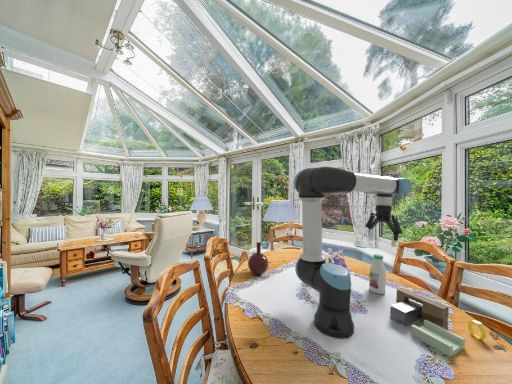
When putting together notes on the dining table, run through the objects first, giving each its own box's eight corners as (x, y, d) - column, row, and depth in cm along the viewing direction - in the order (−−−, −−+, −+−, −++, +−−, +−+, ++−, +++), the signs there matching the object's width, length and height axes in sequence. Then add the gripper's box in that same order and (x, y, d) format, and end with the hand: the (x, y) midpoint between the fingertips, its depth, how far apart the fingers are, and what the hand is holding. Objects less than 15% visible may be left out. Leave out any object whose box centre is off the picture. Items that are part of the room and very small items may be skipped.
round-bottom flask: (245, 270, 141) (246, 240, 141) (264, 269, 145) (264, 240, 145) (250, 279, 129) (251, 246, 128) (271, 276, 132) (272, 245, 132)
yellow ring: (465, 332, 85) (465, 317, 85) (473, 333, 84) (473, 317, 85) (480, 342, 79) (480, 325, 79) (488, 343, 78) (488, 326, 79)
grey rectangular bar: (404, 327, 87) (405, 312, 87) (390, 319, 92) (390, 305, 92) (428, 316, 95) (429, 303, 95) (413, 309, 100) (414, 297, 100)
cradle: (464, 348, 75) (464, 338, 75) (450, 357, 71) (450, 346, 71) (425, 328, 86) (425, 319, 86) (411, 334, 82) (411, 325, 82)
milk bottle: (381, 288, 121) (382, 253, 121) (388, 295, 113) (389, 257, 113) (366, 287, 122) (368, 252, 122) (372, 293, 114) (374, 256, 114)
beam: (442, 331, 84) (443, 309, 84) (396, 308, 101) (396, 289, 100) (447, 328, 86) (448, 306, 86) (401, 306, 102) (401, 287, 102)
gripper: (411, 206, 106) (410, 249, 106) (369, 203, 129) (368, 237, 130) (401, 206, 103) (399, 250, 104) (360, 203, 127) (358, 238, 127)
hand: (382, 243), depth 117 cm, fingers open, 13 cm apart
